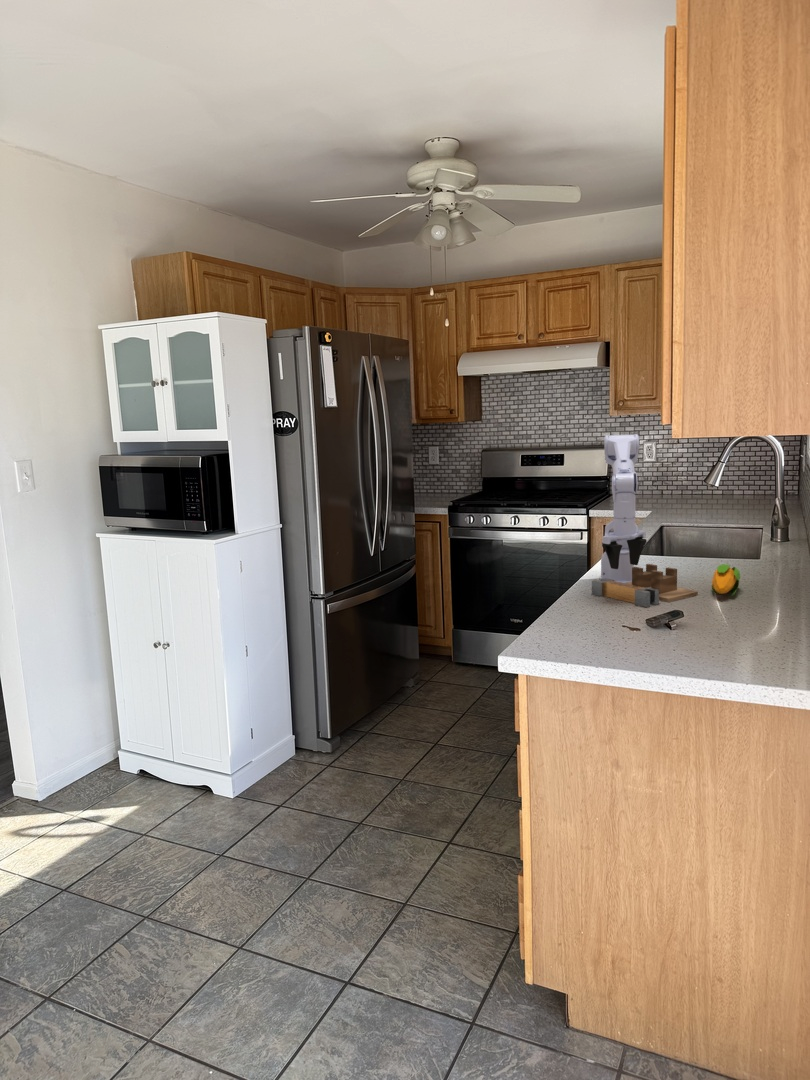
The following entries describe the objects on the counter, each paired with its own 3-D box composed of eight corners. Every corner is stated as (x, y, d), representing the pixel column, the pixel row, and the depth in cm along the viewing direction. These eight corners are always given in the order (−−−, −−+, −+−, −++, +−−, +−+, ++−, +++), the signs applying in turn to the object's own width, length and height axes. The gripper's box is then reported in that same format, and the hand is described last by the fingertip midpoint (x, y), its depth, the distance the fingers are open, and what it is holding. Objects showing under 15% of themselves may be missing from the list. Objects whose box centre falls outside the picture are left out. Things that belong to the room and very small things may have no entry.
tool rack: (612, 589, 222) (612, 565, 221) (641, 583, 228) (641, 560, 227) (668, 602, 205) (668, 576, 204) (697, 595, 211) (698, 570, 210)
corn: (740, 559, 218) (736, 574, 200) (742, 585, 219) (738, 602, 201) (713, 560, 221) (706, 574, 203) (714, 586, 222) (708, 602, 204)
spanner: (591, 594, 217) (591, 580, 217) (604, 591, 220) (604, 577, 219) (645, 607, 201) (646, 592, 200) (658, 604, 203) (659, 589, 203)
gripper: (616, 521, 199) (616, 572, 202) (654, 515, 207) (654, 565, 209) (596, 519, 205) (596, 568, 208) (634, 513, 213) (634, 561, 215)
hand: (624, 566), depth 209 cm, fingers open, 7 cm apart
